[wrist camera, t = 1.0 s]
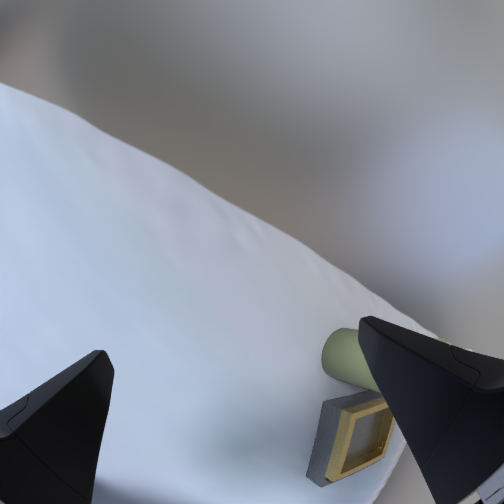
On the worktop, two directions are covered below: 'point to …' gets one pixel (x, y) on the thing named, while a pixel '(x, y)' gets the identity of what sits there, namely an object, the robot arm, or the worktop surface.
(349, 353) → the green and white bottle
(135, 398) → the worktop surface
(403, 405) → the robot arm
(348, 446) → the grey and tan tray
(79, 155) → the worktop surface
